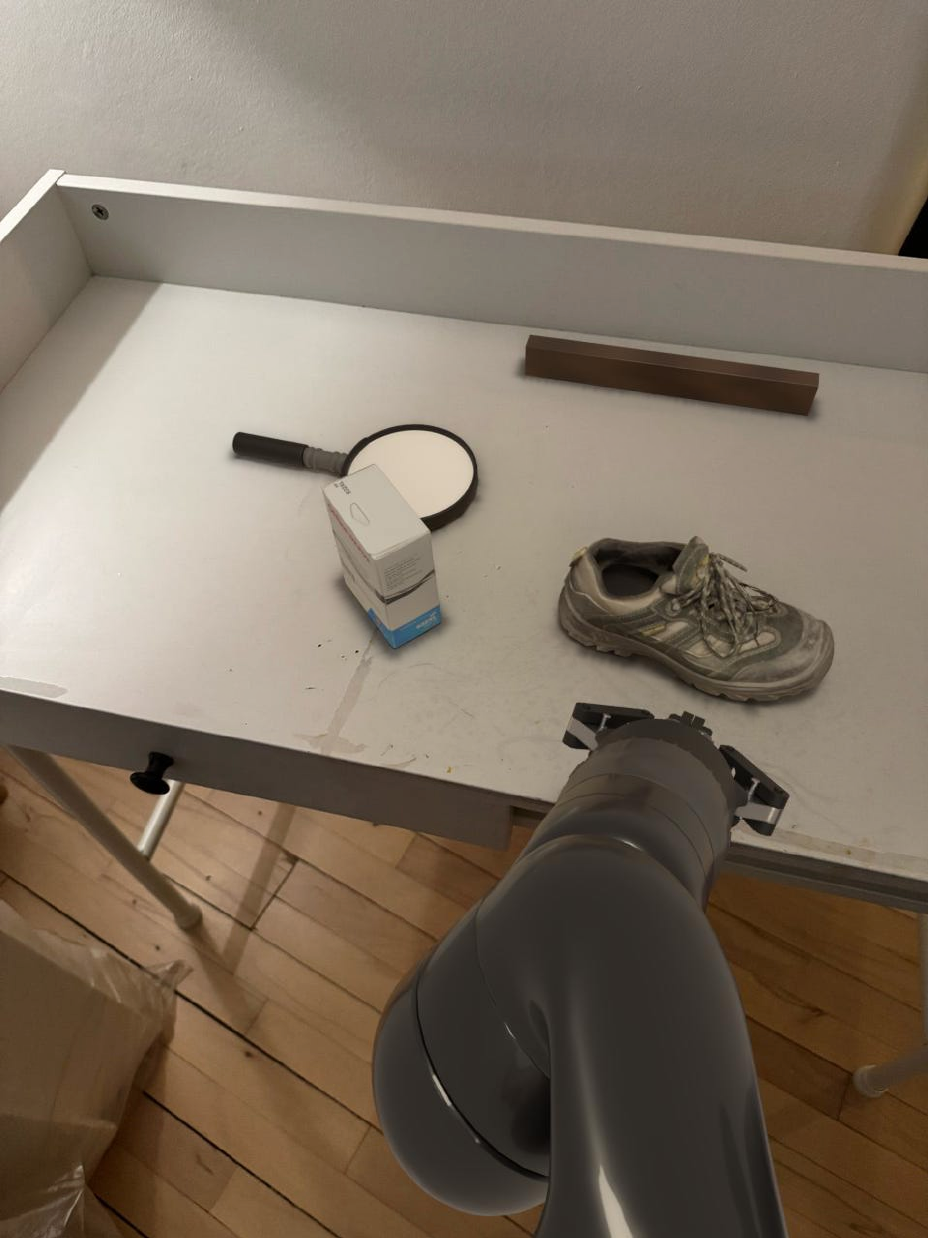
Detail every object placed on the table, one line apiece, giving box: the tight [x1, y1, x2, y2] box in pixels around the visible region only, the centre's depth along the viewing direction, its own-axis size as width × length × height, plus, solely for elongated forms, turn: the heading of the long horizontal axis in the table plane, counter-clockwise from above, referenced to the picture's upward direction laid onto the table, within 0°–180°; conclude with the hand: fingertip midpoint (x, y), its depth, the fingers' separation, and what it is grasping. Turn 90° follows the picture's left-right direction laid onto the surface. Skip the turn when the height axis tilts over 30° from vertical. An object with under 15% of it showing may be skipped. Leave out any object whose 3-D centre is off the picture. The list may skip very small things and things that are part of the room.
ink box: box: [320, 464, 442, 649], centre depth 65 cm, size 8×5×12 cm, turn 32°
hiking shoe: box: [557, 535, 835, 702], centre depth 63 cm, size 9×21×12 cm
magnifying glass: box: [231, 423, 479, 531], centre depth 78 cm, size 12×24×2 cm, turn 73°
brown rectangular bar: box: [524, 334, 820, 416], centre depth 82 cm, size 28×2×4 cm, turn 74°
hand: (689, 729), depth 54 cm, fingers closed
